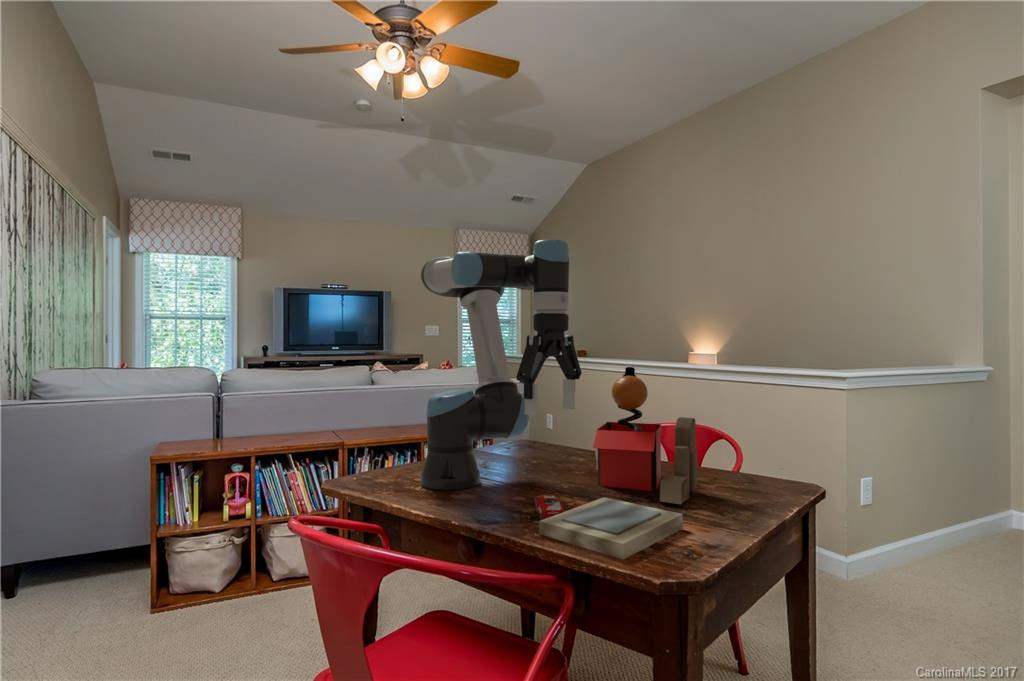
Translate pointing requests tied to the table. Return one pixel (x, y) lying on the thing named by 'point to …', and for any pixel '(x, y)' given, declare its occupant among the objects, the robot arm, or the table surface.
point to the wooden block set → (682, 464)
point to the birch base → (612, 526)
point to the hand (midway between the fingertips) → (550, 411)
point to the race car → (547, 506)
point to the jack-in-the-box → (629, 441)
